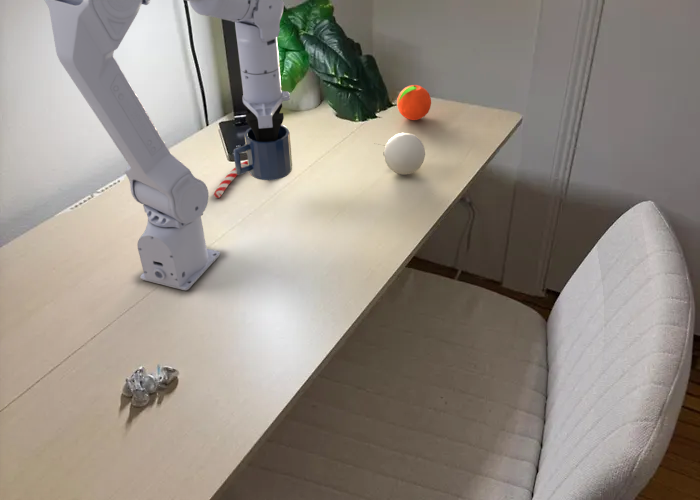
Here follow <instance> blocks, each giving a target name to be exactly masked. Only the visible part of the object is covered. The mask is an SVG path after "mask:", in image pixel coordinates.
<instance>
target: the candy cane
mask: <svg viewBox="0 0 700 500" xmlns="http://www.w3.org/2000/svg"><path fill="white" fill-rule="evenodd" d="M245 166H248V160H247V159H246V160H245V161H243V162H241V168H243V167H245ZM238 176H239V175H238V174H237V173H236V168H235V167H233V169H231V171H229V172H228V173H227V175H226V176H225V177H224V178H223V179H222V181H220V183H219V185H218V186H217V188H216V189H215V191H214V193H213V196H214V198H216V199H220V198H221V197H222V196H223V194H224V193H225V191H226V189H228V187H229V186H230V184H231V183H232V182H233V181H234V180H235V178H236V177H238Z"/></svg>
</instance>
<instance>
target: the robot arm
mask: <svg viewBox="0 0 700 500" xmlns="http://www.w3.org/2000/svg"><path fill="white" fill-rule="evenodd" d="M185 1H187V2H189V5H190V7H191V8H192V10H193V11H194V12H195V13H197V14H198V15H200V16H205V17H209V18H215V19H220V20H225V21H229V22H231V23H234V29H235V35H236V42H237V51H238V60H239V70H240V78H241V86H242V94H243V95H242V103H243V105H244V106H245V110H246V113H245V122H246V123H247V124H248V126H249V128H251V129H252V131H253V132H254V134H255V137H256V139H257V141H258V142H270V141H276V140H277V138H278V132H279V129H280V126H281V125H283V122H284V119H285V115H284V112H281V111H282V108H283V102H286V101H290V100H291V95H290V91H286V90H285V91H284V90H282V80H281V79H282V78H281V69H280V57H279V45H278V37H279V36H280V32H281V28H280V24H281V23H280V22H281V19H282V17H283V13H284V7H285V3H284V1H283V0H185ZM150 2H151V0H44V3H45V4H46V5H47V8H48V10H49V16H50V22H51V29H52V35H53V42H54V47H55V52H56V56H57V58H58V60H59V62H60V64H61V65H62V67H63V68H64V70H65V71H66V73H67V75H69V77H70V79H71V80H72V82H73V84H74V85H75V86H76V88H77V89H78V91H79V92H80V93H81V95H82V96H83V98H84V100H85V101H86V102H87V104H88V105H89V107H90V109H91V110H92V112H93V113H94V115H95V116H96V118H97V119H98V121H99V122H100V123H101V125H102V127H103V128H104V130H105V131H106V133H107V134H108V135H109V137H110V139H111V141H113V143H114V145H115V146H116V148H117V149H118V151H119V152H120V154H121V156H123V158H124V160H125V161H126V163H127V164H128V165H127V167H126V168H125V170H124V174H125V175H126V177H127V179H128V181H129V187H130V194H131V196H132V197H133V199H134V200H135V201H136V202H137V203H139V204H141V205H142V206H143V210H144V213H146V217H147V222H146V223H147V224H146V226H145V230H144V232H143V233H142V235H141V236H140V237H139V238H138V239H137V245H136V246H137V251H138V255H139V259H140V263H141V267H142V271H143V272H142V273H141V275H140V279H141V280H142V281H146V282H150V283H154V284H157V285H162V286H166V287H170V288H173V289H178V290H182V291H189V289H191V287H192V286H193V285H194V284H195V283H196V282H197V281H198V280H199V279H200V277H201V276H202V275H204V273H205V272H206V271H207V270H208V269H209V268H210V267H211V265H213V263H215V261H216V260H217V259H218V258H219V257H220V256H221V252H220V251H218V250H215V249H210V248H208V247H207V242H206V237H205V231H204V226H203V220H202V216H203V215H204V212H205V210H206V208H207V206H208V203H209V197H210V195H209V189H208V186H207V185H206V183H205V182H204V181H203V180H201V179H200V178H197V177H195V176H194V175H193V173H192V171H191V169H190V168H188V167H187V166H186V165H185V164H184V163H183V162H182V161H180V160H179V159H178V158H177V157H176V156H174V155H173V154H172V153H171V151H170V149H169V148H168V146H167V144H166V143H165V141H164V140H163V138H162V136H161V135H160V132H159V131H158V128H156V126H155V124H154V123H153V121H152V119H151V117H150V116H149V114H148V113H147V111H146V109H145V107H144V106H143V104H142V102H141V99H139V97H138V95H137V93H136V92H135V90H134V88H133V86H131V83H130V82H129V80H128V79H127V77H126V75H125V73H124V72H123V70H122V68H121V67H120V65H119V63H118V61H117V60H116V58H115V56H114V52H115V51H116V50H118V48H119V47H120V45H121V43H122V42H123V40H124V38H125V36H126V34H127V32H129V29H130V27H131V26H132V24H133V22H134V21H135V19H136V18H137V16H138V13H139V11H140V9H141V7H142V5H144V6H148V5H150Z"/></svg>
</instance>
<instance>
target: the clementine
mask: <svg viewBox="0 0 700 500" xmlns="http://www.w3.org/2000/svg"><path fill="white" fill-rule="evenodd" d="M396 104H397V110H398V112H399V114H401V116H402V117H404V118H405V119H407V120H410V121H419V120H421V119H423V118H424V117H425V116H427V114H428V113H429V112H430V110H431V107H432V99H431V95H430V92H428V90H427V89H426V88H424V87H422V86H421V85H418V84H411V85H408V86H406V87H404V88H403V89H402V90H401V91H400V92H399V94H398V97H397V100H396Z"/></svg>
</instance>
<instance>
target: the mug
mask: <svg viewBox="0 0 700 500" xmlns="http://www.w3.org/2000/svg"><path fill="white" fill-rule="evenodd" d="M243 137H244V143H245V144H244V145H241V146H239V147H235V148H234V149H233V151H232V152H233V160H234V168H236V173H237V174H238V175H237V176H240V175H243V174H246V173H249V175H250V176H251V177H253V179H257V180H261V181H275V180H281V179H283V178H285V177H287V176H289V174H291V172H292V170H293V158H292V157H293V155H292V146H291V131H290V130H289V128H288V127H287V126H285V125H284V124H281V126H280V129H279V132H278V138H277V140H276V141H270V142H258V141H257V139H256V137H255V134H254V132H253V131H252V129H251V128H250V127H249V128H247V129H246V131H245V132H244V136H243ZM242 153H246V161H247V160H248V166H245V167H243V168H241V163H242V161H241V154H242Z"/></svg>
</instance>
